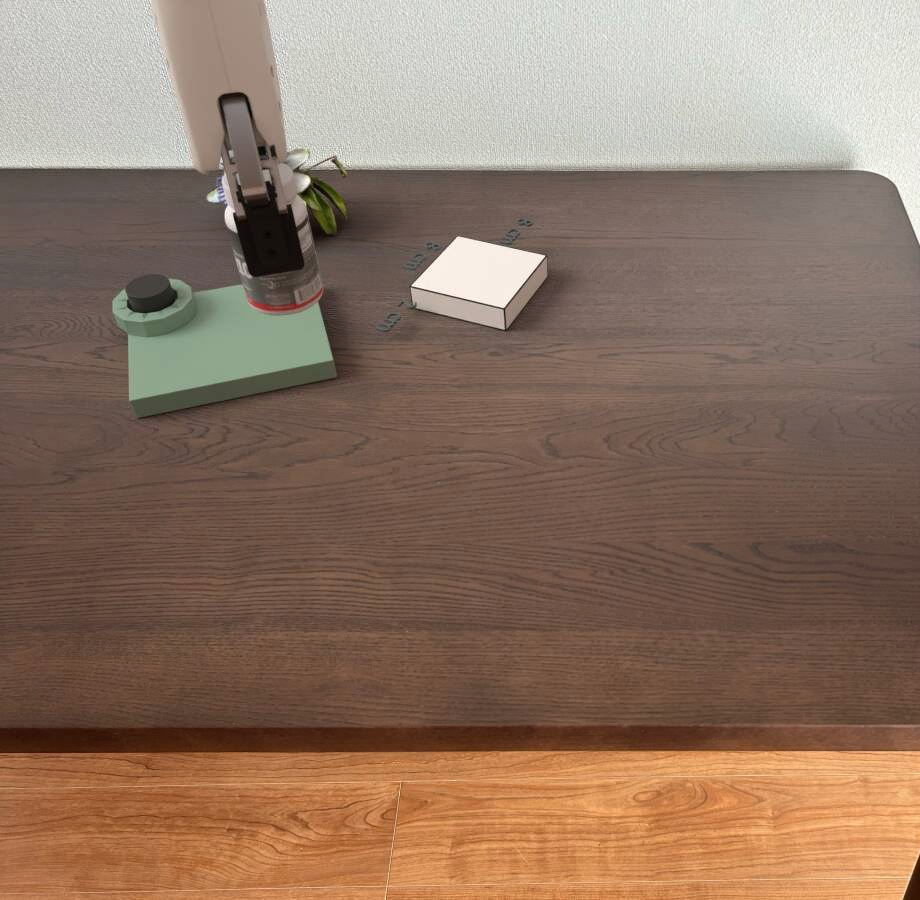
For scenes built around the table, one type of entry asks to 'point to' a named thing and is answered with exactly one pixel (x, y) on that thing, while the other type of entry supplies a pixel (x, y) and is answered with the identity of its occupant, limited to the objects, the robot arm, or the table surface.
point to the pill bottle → (285, 288)
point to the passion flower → (304, 190)
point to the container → (476, 281)
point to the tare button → (150, 293)
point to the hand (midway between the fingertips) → (272, 244)
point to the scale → (217, 349)
